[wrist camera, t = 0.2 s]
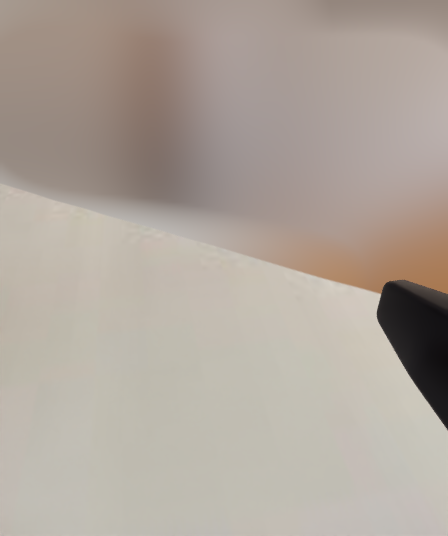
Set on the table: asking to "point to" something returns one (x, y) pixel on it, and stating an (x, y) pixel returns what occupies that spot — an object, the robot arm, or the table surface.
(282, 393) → the table surface
